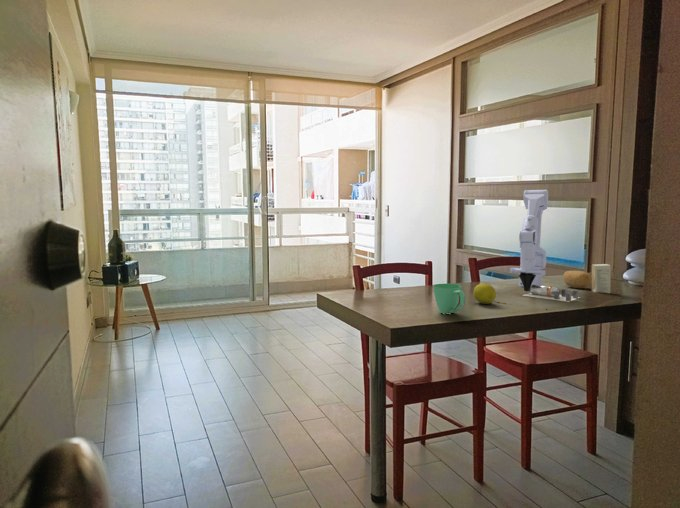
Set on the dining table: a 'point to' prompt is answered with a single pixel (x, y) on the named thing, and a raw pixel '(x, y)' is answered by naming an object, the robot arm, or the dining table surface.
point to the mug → (449, 297)
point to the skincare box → (601, 278)
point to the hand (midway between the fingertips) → (527, 291)
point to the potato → (577, 279)
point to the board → (549, 297)
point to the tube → (543, 290)
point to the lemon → (484, 293)
